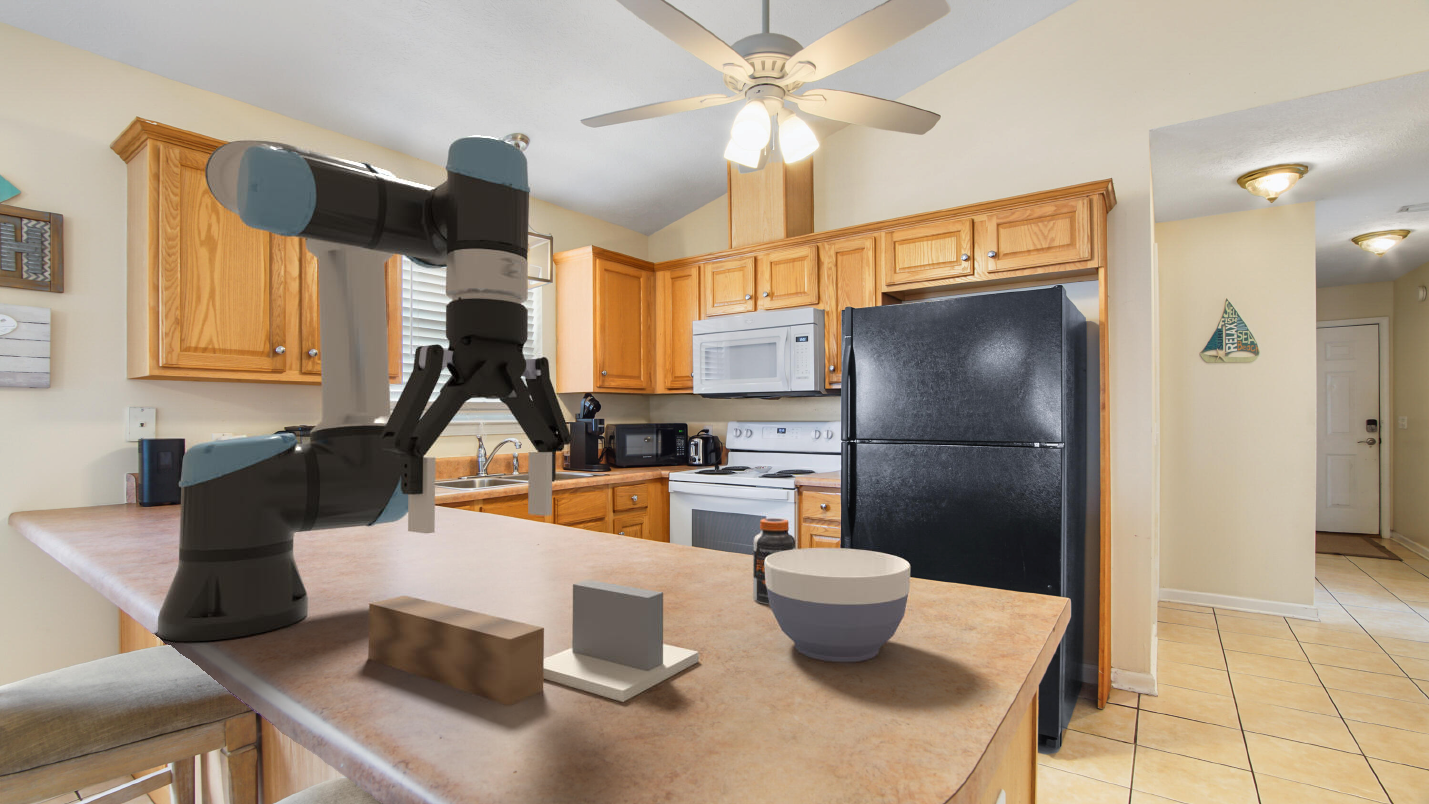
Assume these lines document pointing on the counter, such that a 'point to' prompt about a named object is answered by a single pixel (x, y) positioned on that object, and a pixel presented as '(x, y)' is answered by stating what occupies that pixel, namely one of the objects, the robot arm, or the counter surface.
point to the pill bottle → (768, 552)
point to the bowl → (837, 600)
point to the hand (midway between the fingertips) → (485, 522)
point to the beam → (458, 647)
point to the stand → (616, 643)
